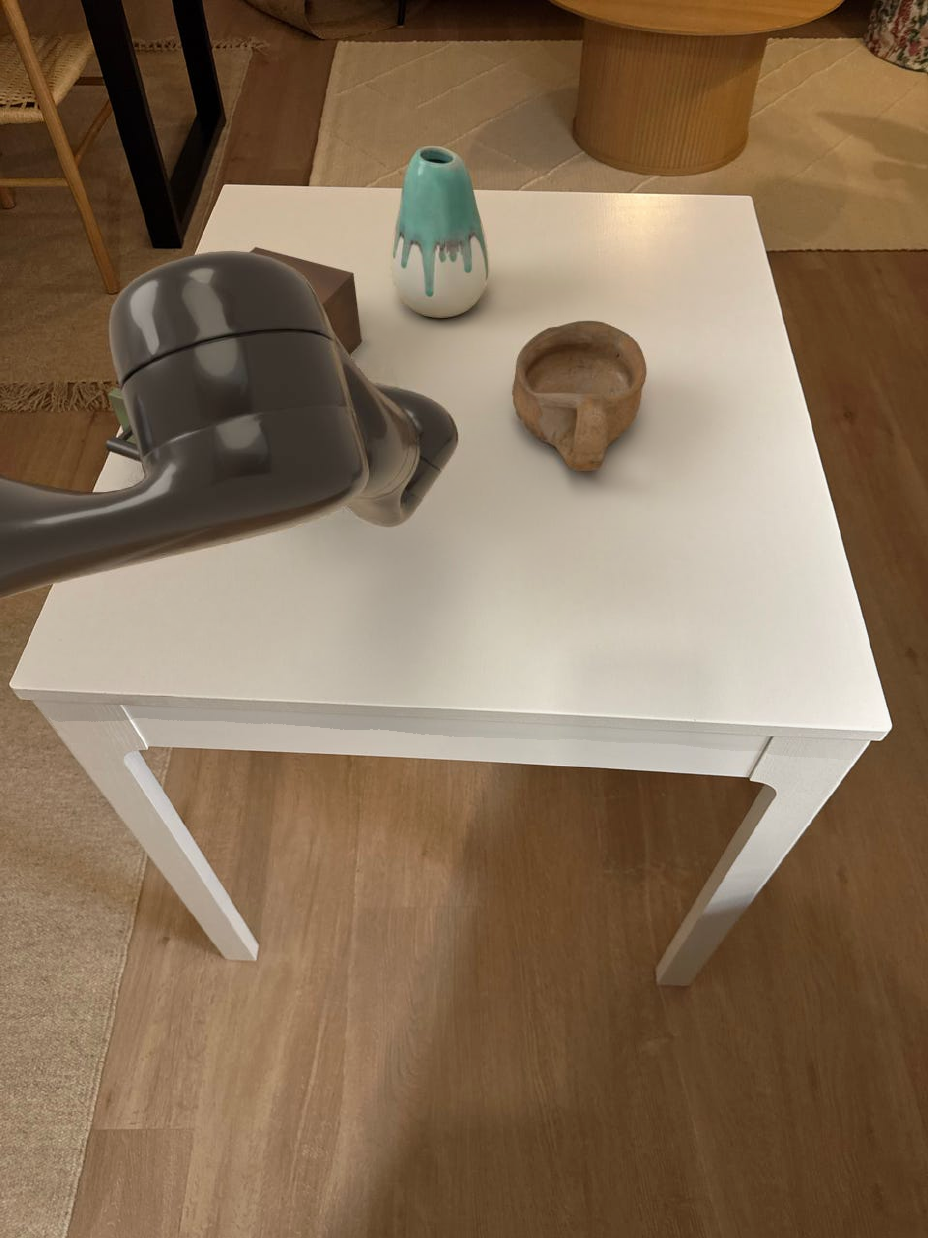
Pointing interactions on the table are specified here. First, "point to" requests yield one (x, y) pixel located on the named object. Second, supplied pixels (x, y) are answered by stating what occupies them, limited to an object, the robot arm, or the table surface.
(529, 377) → the brown mug
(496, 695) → the table surface
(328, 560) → the table surface
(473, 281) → the vase
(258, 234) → the table surface
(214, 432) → the robot arm
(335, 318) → the cabinet
